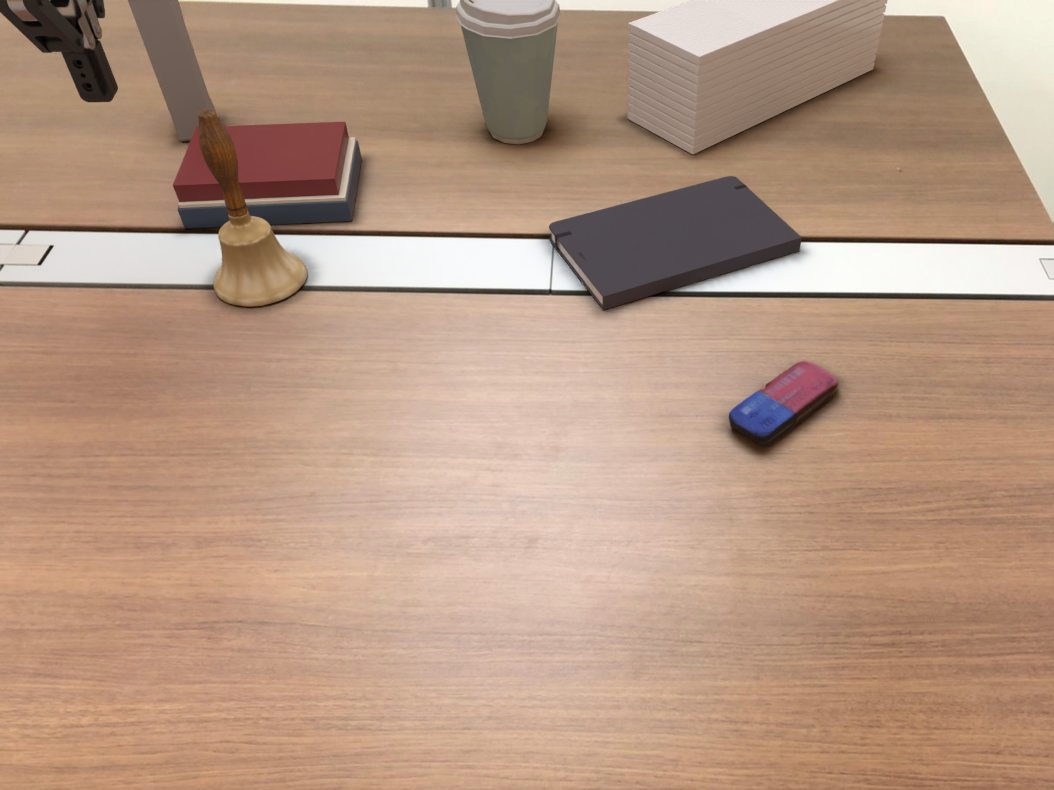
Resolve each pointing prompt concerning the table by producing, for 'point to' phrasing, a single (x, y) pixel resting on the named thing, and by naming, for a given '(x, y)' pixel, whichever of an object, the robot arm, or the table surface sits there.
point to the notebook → (671, 240)
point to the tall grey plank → (173, 62)
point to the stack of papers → (742, 62)
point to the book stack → (276, 175)
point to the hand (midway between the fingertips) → (101, 97)
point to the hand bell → (245, 232)
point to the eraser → (783, 403)
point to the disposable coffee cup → (511, 62)
